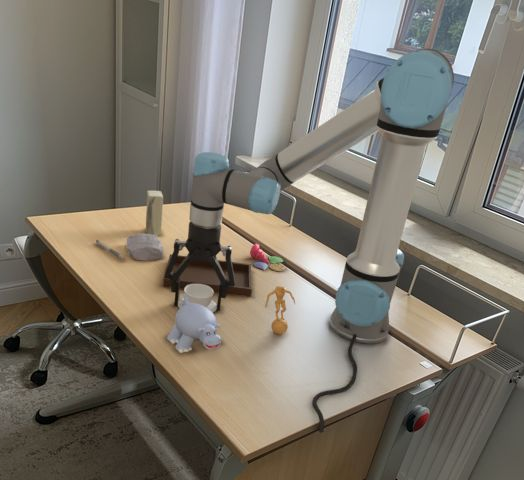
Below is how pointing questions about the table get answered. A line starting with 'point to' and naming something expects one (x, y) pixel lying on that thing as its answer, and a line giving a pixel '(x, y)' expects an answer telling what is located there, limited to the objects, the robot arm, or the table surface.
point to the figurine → (279, 324)
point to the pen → (109, 249)
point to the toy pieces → (265, 259)
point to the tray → (213, 276)
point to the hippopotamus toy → (194, 327)
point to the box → (154, 212)
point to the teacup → (199, 296)
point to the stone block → (144, 247)
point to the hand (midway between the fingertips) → (197, 305)
